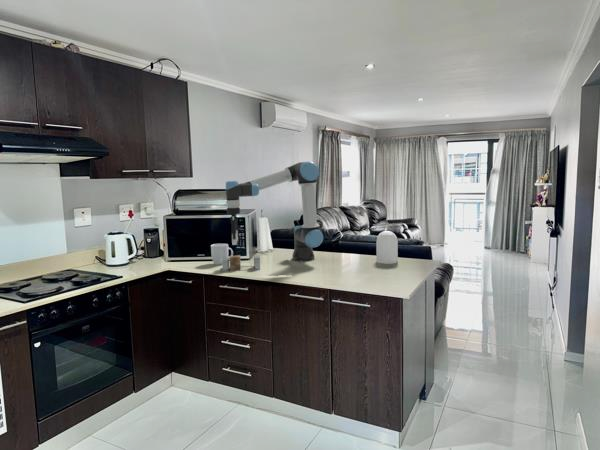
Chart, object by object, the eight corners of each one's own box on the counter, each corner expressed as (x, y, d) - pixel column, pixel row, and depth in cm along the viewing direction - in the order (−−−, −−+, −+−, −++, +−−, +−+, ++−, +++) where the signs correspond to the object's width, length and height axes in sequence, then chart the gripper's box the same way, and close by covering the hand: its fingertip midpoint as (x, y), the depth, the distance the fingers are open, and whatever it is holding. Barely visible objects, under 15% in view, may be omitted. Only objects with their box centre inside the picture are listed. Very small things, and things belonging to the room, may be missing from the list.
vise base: (261, 267, 256) (261, 265, 256) (262, 272, 245) (261, 269, 244) (220, 269, 254) (220, 267, 254) (219, 274, 242) (219, 271, 242)
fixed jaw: (229, 268, 252) (229, 256, 252) (228, 271, 244) (228, 259, 243) (223, 268, 252) (223, 257, 251) (222, 271, 244) (222, 259, 243)
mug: (228, 261, 278) (228, 242, 276) (237, 263, 270) (236, 244, 268) (208, 264, 269) (207, 244, 267) (216, 267, 260) (215, 246, 259)
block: (240, 268, 252) (240, 255, 251) (240, 270, 246) (239, 257, 245) (230, 268, 251) (230, 255, 250) (230, 270, 245) (229, 257, 245)
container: (372, 261, 269) (372, 230, 266) (387, 258, 276) (387, 228, 274) (386, 264, 257) (387, 232, 255) (402, 261, 265) (402, 230, 262)
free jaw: (260, 266, 254) (259, 255, 254) (260, 269, 246) (259, 257, 245) (254, 266, 254) (254, 255, 253) (254, 269, 246) (254, 257, 245)
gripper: (228, 206, 256) (230, 239, 259) (225, 209, 232) (227, 246, 234) (240, 205, 257) (242, 239, 260) (238, 208, 232) (240, 245, 235)
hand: (235, 242), depth 247 cm, fingers open, 13 cm apart
